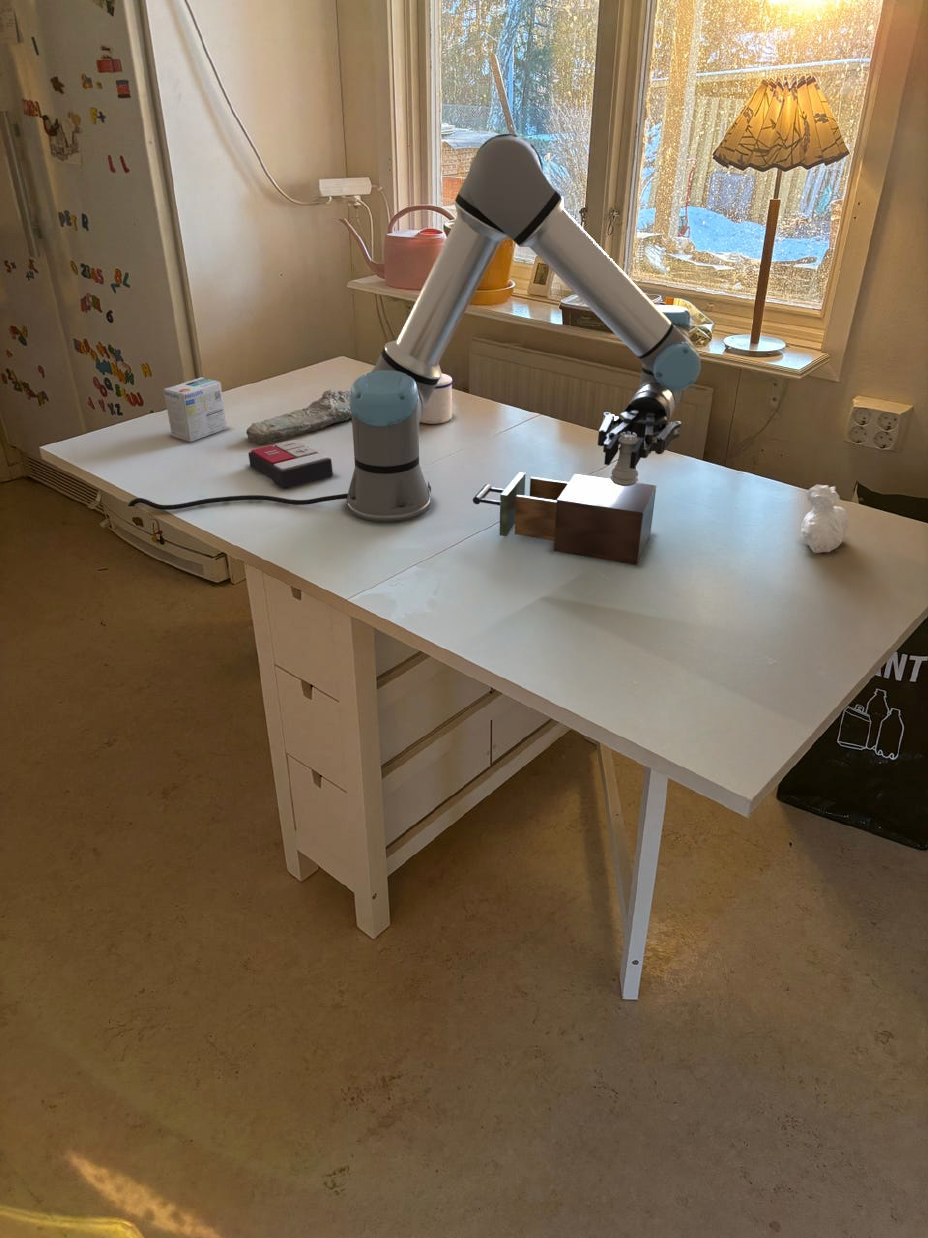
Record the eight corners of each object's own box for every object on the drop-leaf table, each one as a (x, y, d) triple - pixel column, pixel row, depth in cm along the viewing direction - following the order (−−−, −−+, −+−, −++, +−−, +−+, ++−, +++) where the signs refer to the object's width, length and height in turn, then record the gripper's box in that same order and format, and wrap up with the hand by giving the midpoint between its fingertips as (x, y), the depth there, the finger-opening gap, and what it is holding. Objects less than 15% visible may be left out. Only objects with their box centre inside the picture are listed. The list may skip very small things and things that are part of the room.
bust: (832, 543, 159) (806, 485, 159) (871, 531, 153) (844, 470, 153) (797, 566, 152) (770, 505, 152) (837, 553, 146) (809, 490, 146)
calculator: (295, 437, 187) (331, 455, 177) (298, 457, 189) (333, 476, 179) (246, 448, 182) (280, 468, 171) (249, 469, 184) (283, 489, 173)
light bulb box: (208, 423, 205) (201, 375, 200) (228, 429, 202) (221, 381, 196) (170, 436, 198) (161, 387, 192) (190, 443, 194) (182, 393, 189)
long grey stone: (237, 443, 198) (264, 457, 192) (233, 420, 195) (261, 434, 189) (359, 398, 218) (386, 410, 213) (357, 377, 215) (385, 388, 210)
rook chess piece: (607, 484, 147) (611, 437, 142) (613, 474, 150) (618, 427, 146) (634, 488, 145) (639, 441, 141) (640, 478, 149) (645, 431, 144)
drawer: (468, 530, 157) (468, 489, 153) (487, 506, 165) (488, 467, 161) (573, 547, 151) (576, 506, 147) (588, 522, 159) (591, 482, 155)
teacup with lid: (461, 416, 209) (461, 366, 203) (435, 427, 203) (434, 375, 197) (421, 406, 216) (420, 357, 209) (395, 416, 209) (394, 365, 203)
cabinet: (553, 551, 152) (556, 499, 147) (571, 523, 161) (574, 473, 156) (637, 565, 148) (643, 512, 143) (650, 535, 157) (656, 485, 152)
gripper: (693, 438, 158) (670, 488, 140) (601, 426, 163) (567, 473, 145) (699, 396, 154) (676, 442, 136) (605, 385, 159) (570, 428, 141)
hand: (620, 458), depth 140 cm, fingers closed on rook chess piece, 3 cm apart
